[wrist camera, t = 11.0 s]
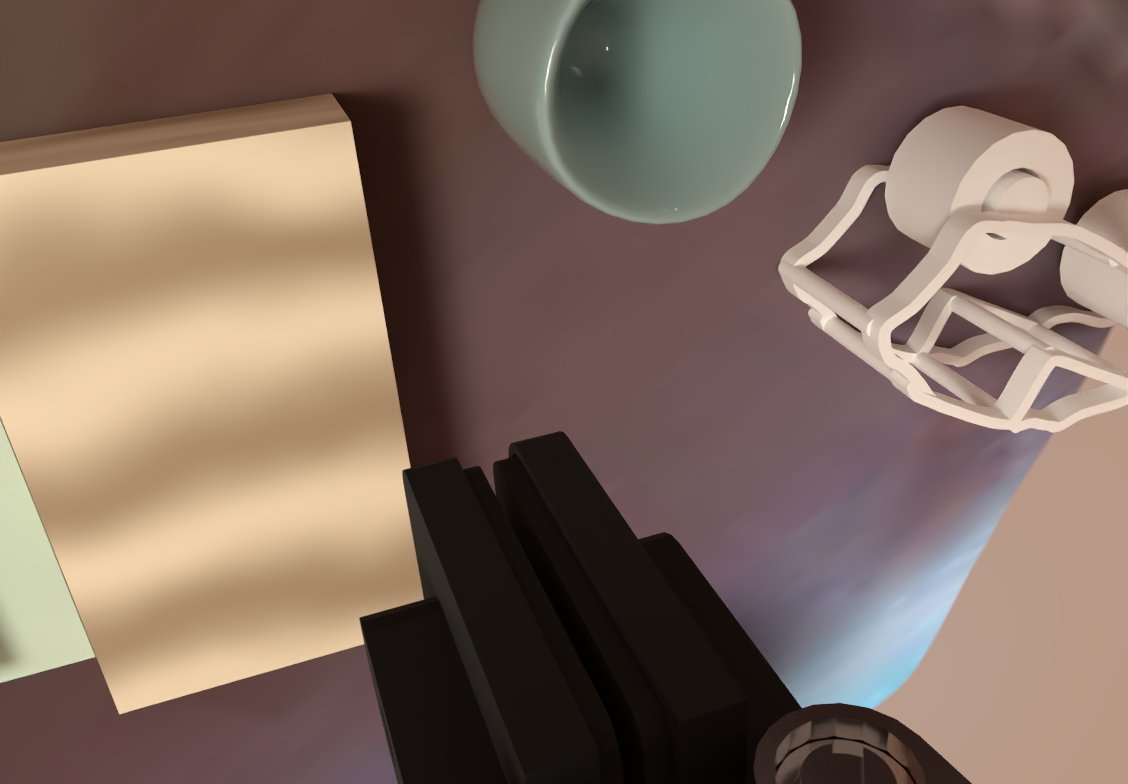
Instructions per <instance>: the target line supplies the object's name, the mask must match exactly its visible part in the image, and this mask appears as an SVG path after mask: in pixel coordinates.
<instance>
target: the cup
mask: <svg viewBox="0 0 1128 784" xmlns="http://www.w3.org/2000/svg"><path fill="white" fill-rule="evenodd" d="M472 57H473V63H474V69H475V74H476V79H477V84H478V86H479V89H480V91H481V94H482V96H483V99H484V101H485V103H486V106H487V107H488V109H489V111H490V113H491V114H492V115H493V117H494V118H495V120H496V121H497V122H498V124H499V125H500V126H501V128H502V129H503V131H504V132H505V133H506V135H507V136H508V137H509V138H510V139H511V141H512V142H513V143H514V144H515V145H516V146H517V147H518V148H519V149H520V150H521V151H522V152H523V153H524V154H526V155H527V156H528V157H529V158H530V159H531V160H532V161H533V162H535V163H536V164H537V165H538V166H539V167H540V168H542V169H543V170H544V171H545V172H546V173H547V174H549V175H550V176H551V177H552V178H553V179H554V180H555V181H557V182H558V183H559V184H560V185H561V186H563V187H564V188H565V189H566V190H567V191H569V192H570V193H571V194H572V195H574V196H575V197H576V198H578V199H580V200H581V201H583V202H585V203H587V204H589V205H590V206H592V207H594V208H596V209H598V210H600V211H602V212H603V213H606V214H609V215H612V216H615V217H619V218H622V219H625V220H628V221H632V222H640V223H649V224H669V223H681V222H685V221H689V220H693V219H696V218H700V217H704V216H706V215H708V214H710V213H712V212H714V211H716V210H718V209H720V208H722V207H724V206H726V205H727V204H728V203H730V202H731V201H732V200H733V199H735V198H736V197H737V196H738V195H740V194H741V193H742V192H743V191H744V190H746V189H747V188H748V186H749V185H750V184H751V183H752V182H753V181H754V180H755V178H756V177H757V176H758V175H759V174H760V173H761V171H762V170H763V169H764V168H765V166H766V164H767V163H768V161H769V160H770V158H771V156H772V155H773V153H774V152H775V150H776V148H777V147H778V145H779V143H780V141H781V138H782V136H783V134H784V132H785V129H786V127H787V125H788V123H789V121H790V117H791V114H792V111H793V107H794V104H795V100H796V97H797V94H798V88H799V81H800V74H801V67H802V36H801V32H800V27H799V22H798V18H797V13H796V10H795V8H794V6H793V3H792V1H791V0H480V1H479V4H478V7H477V10H476V16H475V22H474V28H473V37H472Z"/></svg>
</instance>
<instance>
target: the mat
mask: <svg viewBox="0 0 1128 784" xmlns="http://www.w3.org/2000/svg"><path fill="white" fill-rule="evenodd" d="M93 657H95V652H94V649H93V647H92V644H91V642H90V639H89V637H88V634H87V632H86V629H85V627H84V624H83V622H82V619H81V617H80V614H79V612H78V609H77V607H76V604H75V602H74V599H73V597H72V594H71V592H70V589H69V587H68V584H67V582H66V579H65V577H64V574H63V572H62V569H61V567H60V564H59V562H58V559H57V557H56V554H55V552H54V549H53V547H52V544H51V542H50V539H49V537H48V534H47V532H46V529H45V527H44V524H43V522H42V519H41V517H40V514H39V512H38V509H37V507H36V504H35V502H34V499H33V497H32V494H31V492H30V489H29V487H28V484H27V482H26V479H25V477H24V474H23V472H22V469H21V467H20V464H19V462H18V459H17V457H16V454H15V452H14V449H13V447H12V444H11V442H10V439H9V437H8V434H7V432H6V429H5V427H4V424H3V422H2V419H1V417H0V683H1V682H5V681H8V680H12V679H16V678H19V677H23V676H27V675H31V674H34V673H38V672H42V671H45V670H49V669H53V668H56V667H60V666H64V665H67V664H71V663H75V662H78V661H82V660H86V659H89V658H93Z"/></svg>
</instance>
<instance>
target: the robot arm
mask: <svg viewBox="0 0 1128 784" xmlns="http://www.w3.org/2000/svg"><path fill="white" fill-rule="evenodd" d="M493 474H494V483H495V491H496V496H495V494H494V492H493V490H492V488H491V486H490V484H489V482H488V480H487V478H486V476H485V475H484V473H483V471H482V469H481V468H480V466H476V467H472V468H468V469H464V470H463V469H462V467H461V465H460V463H459V461H458V460H457V458H455V457H453V458H449V459H445V460H441V461H437V462H433V463H429V464H425V465H421V466H417V467H412V468H408V469H404V470H403V471H402V476H403V484H404V490H405V496H406V502H407V507H408V513H409V518H410V524H411V530H412V535H413V541H414V546H415V552H416V558H417V563H418V569H419V574H420V580H421V586H422V591H423V597H424V600H420V601H417V602H413V603H410V604H406V605H402V606H399V607H395V608H392V609H388V610H385V611H381V612H377V613H374V614H370V615H367V616H363V617H360V618H359V620H360V625H361V630H362V635H363V639H364V644H365V648H366V653H367V657H368V662H369V666H370V671H371V675H372V680H373V684H374V689H375V693H376V697H377V701H378V706H379V710H380V714H381V718H382V722H383V726H384V730H385V735H386V739H387V743H388V747H389V751H390V755H391V759H392V763H393V766H394V770H395V774H396V778H397V782H398V784H972V783H970V782H969V781H968V780H967V779H966V778H965V777H964V776H963V775H962V774H961V773H960V772H958V771H957V770H956V769H955V768H954V767H953V766H952V765H951V764H950V763H949V762H948V761H946V760H945V759H944V758H943V757H942V756H941V755H940V754H939V753H938V752H937V751H935V750H934V749H933V748H932V747H931V746H930V745H929V744H928V743H927V742H926V741H924V740H923V739H922V738H921V737H920V736H919V735H917V734H916V733H915V732H913V731H912V730H910V729H909V728H908V727H906V726H905V725H903V724H902V723H900V722H899V721H898V720H896V719H894V718H892V717H889V716H887V715H884V714H882V713H879V712H877V711H875V710H872V709H870V708H866V707H860V706H854V705H848V704H842V703H835V704H819V705H811V706H808V707H805V708H801V706H800V705H799V704H798V702H797V701H796V700H795V698H794V697H793V696H792V694H791V693H790V692H789V690H788V689H787V688H786V686H785V685H784V684H783V682H782V681H781V679H780V678H779V677H778V675H777V674H776V673H775V671H774V670H773V669H772V667H771V666H770V665H769V663H768V662H767V661H766V659H765V658H764V657H763V655H762V654H761V653H760V651H759V650H758V648H757V647H756V646H755V644H754V643H753V642H752V640H751V639H750V638H749V636H748V635H747V634H746V632H745V631H744V630H743V628H742V627H741V626H740V624H739V623H738V622H737V620H736V619H735V617H734V616H733V615H732V613H731V612H730V611H729V609H728V608H727V607H726V605H725V604H724V603H723V601H722V600H721V599H720V597H719V596H718V595H717V593H716V592H715V591H714V589H713V588H712V587H711V585H710V584H709V582H708V581H707V580H706V578H705V577H704V576H703V574H702V573H701V572H700V570H699V569H698V568H697V566H696V565H695V564H694V562H693V561H692V560H691V558H690V557H689V556H688V554H687V553H686V551H685V550H684V549H683V547H682V546H681V545H680V543H679V542H678V541H677V540H676V539H675V538H674V537H673V536H672V535H670V534H668V533H665V532H663V533H660V534H656V535H652V536H649V537H645V538H642V539H637V537H636V536H635V534H634V533H633V531H632V530H631V528H630V527H629V525H628V524H627V523H626V521H625V520H624V518H623V517H622V515H621V514H620V512H619V511H618V509H617V508H616V507H615V505H614V504H613V502H612V501H611V499H610V498H609V496H608V495H607V493H606V492H605V491H604V489H603V488H602V486H601V485H600V483H599V482H598V480H597V479H596V477H595V476H594V475H593V473H592V472H591V470H590V469H589V467H588V466H587V464H586V463H585V461H584V460H583V459H582V457H581V456H580V454H579V453H578V451H577V450H576V448H575V447H574V445H573V444H572V443H571V441H570V440H569V438H568V437H567V436H566V434H565V433H564V432H561V431H559V432H555V433H551V434H547V435H543V436H539V437H535V438H531V439H526V440H522V441H518V442H514V443H511V444H510V446H509V458H508V459H504V460H500V461H496V462H494V464H493Z"/></svg>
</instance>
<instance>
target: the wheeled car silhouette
mask: <svg viewBox="0 0 1128 784" xmlns="http://www.w3.org/2000/svg"><path fill="white" fill-rule="evenodd" d="M881 182H886V189H885V200H886V205H887V210H888V215H889V217H890V218H891V220H892V221H893V223H894V225H895V226H896V228H897V229H898V230H899V231H901V232H902V233H904V234H905V235H907V236H908V237H910V238H911V239H913V240H915V241H917V242H919V243H921V244H923V245H924V246H926V247H928V248H930V251H929V252H928V254H927V255H926V256H925V257H924V258H923V259H922V261H921V262H920V263H919V264H918V265H917V266H916V268H915V269H914V270H913V271H912V272H911V273H910V274H909V275H908V277H907V278H906V279H905V280H904V281H903V282H902V283H901V284H900V285H899V286H898V287H897V288H896V289H895V290H894V291H893V292H892V293H891V294H890V295H889V296H887V297H886V298H884V299H883V300H881V301H880V302H878V303H877V304H875V305H874V306H872V307H871V308H870V309H867V308H866V307H864V306H863V305H861V304H860V303H858V302H856V301H855V300H853V299H852V298H850V297H849V296H847V295H846V294H844V293H843V292H841V291H840V290H838V289H837V288H835V287H834V286H832V285H831V284H829V283H828V282H826V281H825V280H823V279H822V278H820V277H819V276H817V275H816V274H814V273H813V272H811V271H810V270H808V269H807V268H805V267H806V266H807V265H809V264H810V263H812V262H813V261H815V260H816V259H818V258H819V257H821V256H822V255H823V254H825V253H826V252H827V251H828V250H829V249H830V248H831V247H832V246H833V245H834V244H835V243H836V241H837V240H838V239H839V238H840V237H841V236H842V235H843V233H844V232H845V231H846V230H847V229H848V228H849V227H850V225H851V224H852V223H853V222H854V221H855V220H856V218H857V217H858V216H859V215H860V213H861V212H862V210H863V208H864V206H865V204H866V202H867V200H868V198H869V197H870V195H871V193H872V191H873V190H874V188H875V187H876V186H877V185H878V184H879V183H881ZM1073 185H1074V173H1073V161H1072V159H1071V157H1070V155H1069V153H1068V150H1067V148H1066V146H1065V144H1063V143H1062V142H1061V141H1060V140H1059V139H1058V138H1056V137H1055V136H1054V135H1053V134H1051V133H1048V132H1045V131H1042V130H1039V129H1036V128H1033V127H1030V126H1027V125H1024V124H1021V123H1018V122H1015V121H1012V120H1009V119H1006V118H1003V117H1000V116H997V115H994V114H991V113H988V112H985V111H982V110H979V109H975V108H971V107H967V106H956V107H950V108H944V109H942V110H940V111H938V112H936V113H934V114H932V115H930V116H928V117H926V118H925V119H924V120H922V121H921V122H920V123H919V124H918V125H917V126H916V127H915V128H914V129H913V130H912V131H911V132H909V133H908V135H907V136H906V138H905V139H904V141H903V142H902V144H901V145H900V147H899V148H898V150H897V151H896V153H895V155H894V157H893V160H892V163H891V165H889V166H883V165H866V166H863V167H862V168H860V169H859V170H858V171H856V172H855V173H854V174H853V176H852V177H851V179H850V181H849V183H848V184H847V186H846V188H845V190H844V192H843V194H842V196H841V198H840V200H839V201H838V203H837V204H836V205H835V207H834V208H833V209H832V210H831V211H830V212H829V214H828V215H827V216H826V217H825V218H824V219H823V221H822V222H821V223H820V224H819V225H818V226H817V227H816V228H815V229H814V231H813V232H812V233H811V234H810V235H809V236H808V237H807V238H806V239H804V240H803V241H801V242H800V243H798V244H797V245H795V246H794V247H792V248H791V249H790V250H788V251H787V252H786V253H785V254H784V256H783V257H782V259H781V262H780V264H779V267H778V271H779V273H780V274H781V277H782V280H783V282H784V284H785V286H786V288H787V290H788V291H789V292H791V293H792V294H793V295H795V296H796V297H797V298H799V299H800V300H802V301H803V302H804V303H807V304H808V305H809V306H810V307H811V309H810V310H809V312H808V315H809V316H810V318H811V321H812V322H813V323H814V324H815V325H816V326H818V327H819V328H820V329H822V330H823V331H824V332H826V333H827V334H828V335H830V336H831V337H832V338H834V339H835V340H837V341H838V342H839V343H841V344H842V345H843V346H845V347H846V348H847V349H849V350H850V351H851V352H853V353H854V354H855V355H857V356H858V357H860V358H861V359H862V360H864V361H865V362H866V363H868V364H869V365H870V366H872V367H873V368H874V369H876V370H877V371H878V372H880V373H881V374H883V375H884V376H885V377H887V378H888V379H889V380H891V381H892V384H893V385H894V386H895V387H896V388H897V389H899V390H900V391H901V392H903V393H904V394H905V395H907V396H908V397H909V398H911V399H912V400H913V401H915V402H917V403H920V404H922V405H924V406H927V407H929V408H932V409H934V410H936V411H938V412H941V413H944V414H947V415H950V416H953V417H956V418H959V419H962V420H965V421H967V422H971V423H974V424H978V425H981V426H985V427H988V428H993V429H1007V430H1010V431H1012V432H1013V433H1018V432H1019V431H1022V430H1025V429H1028V428H1035V429H1039V430H1047V431H1049V432H1051V433H1054V432H1058V431H1061V430H1063V429H1065V428H1067V427H1069V426H1070V425H1072V424H1073V423H1075V422H1077V421H1079V420H1080V419H1083V418H1086V417H1089V416H1092V415H1095V414H1099V413H1103V412H1107V411H1111V410H1114V409H1117V408H1120V407H1122V406H1125V405H1127V404H1128V372H1126V371H1124V370H1122V369H1120V368H1118V367H1117V366H1115V365H1113V364H1111V363H1110V362H1108V361H1106V360H1104V359H1102V358H1101V357H1099V356H1097V355H1095V354H1093V353H1091V352H1090V351H1088V350H1086V349H1084V348H1082V347H1081V346H1079V345H1077V344H1075V343H1073V342H1071V341H1070V340H1068V339H1066V338H1064V337H1062V336H1061V335H1059V334H1057V333H1055V332H1053V331H1052V330H1050V328H1051V327H1053V326H1054V325H1056V324H1060V323H1066V322H1077V323H1082V324H1086V325H1089V326H1093V327H1099V328H1105V327H1111V326H1114V325H1117V324H1120V325H1122V326H1124V327H1126V328H1128V189H1125V190H1120V191H1115V192H1114V193H1112V194H1110V195H1108V196H1106V197H1104V198H1103V199H1101V200H1099V201H1098V202H1097V203H1096V204H1095V205H1094V206H1092V207H1091V208H1090V209H1089V210H1088V211H1087V212H1086V213H1085V214H1084V215H1083V216H1082V218H1081V219H1080V220H1079V222H1078V223H1077V224H1072V223H1070V222H1067V221H1065V220H1063V218H1064V216H1065V214H1066V211H1067V209H1068V207H1069V205H1070V201H1071V196H1072V190H1073ZM1050 239H1052V240H1055V241H1057V242H1059V243H1061V244H1064V245H1065V247H1064V249H1063V254H1062V259H1061V264H1060V276H1061V284H1062V286H1063V288H1064V290H1065V292H1066V294H1067V296H1068V297H1070V298H1071V299H1072V300H1074V301H1075V302H1077V303H1078V304H1080V305H1082V306H1084V307H1086V308H1088V309H1090V310H1092V311H1084V310H1079V309H1076V308H1073V307H1069V306H1063V305H1057V306H1048V307H1044V308H1040V309H1038V310H1037V311H1035V312H1033V313H1032V314H1031V315H1029V316H1028V317H1026V316H1024V315H1021V314H1018V313H1016V312H1013V311H1010V310H1007V309H1005V308H1002V307H999V306H997V305H994V304H991V303H988V302H985V301H983V300H980V299H977V298H974V297H971V296H969V295H967V294H964V293H962V292H959V291H956V290H953V289H951V288H940V287H941V286H942V285H943V284H944V283H945V282H946V281H947V279H948V278H949V277H950V276H951V275H952V274H953V273H954V272H955V270H956V269H957V267H958V266H959V264H960V265H962V266H964V267H966V268H968V269H970V270H971V271H973V272H977V273H984V274H990V275H992V274H997V273H1002V272H1006V271H1010V270H1012V269H1014V268H1016V267H1018V266H1020V265H1021V264H1023V263H1025V262H1027V261H1029V260H1030V259H1031V258H1032V257H1033V256H1034V255H1036V254H1037V253H1038V252H1039V251H1040V250H1041V249H1042V248H1043V247H1044V246H1046V244H1047V243H1048V242H1049V240H1050ZM933 295H934V296H933ZM932 296H933V297H932ZM931 297H932V298H931ZM930 298H931V300H930V302H929V304H928V305H927V307H926V309H925V311H924V313H923V314H922V316H921V318H920V320H919V322H918V324H917V326H916V328H915V330H914V332H913V334H912V335H911V337H910V338H909V340H908V341H907V343H906V344H905V345H899V344H893V343H891V340H890V335H891V332H892V330H893V329H894V328H895V327H897V326H898V325H900V324H901V323H903V322H904V321H906V320H907V319H909V318H910V317H911V316H913V315H914V314H915V313H917V312H918V311H919V310H920V309H921V308H922V307H923V306H924V305H925V304H926V303H927V302H928V301H929V299H930ZM952 311H953V312H954V313H956V314H958V315H959V316H961V317H963V318H964V319H966V320H968V321H970V322H971V323H973V324H975V325H976V326H978V327H980V328H981V329H983V330H985V331H986V332H988V333H986V334H982V335H978V336H975V337H971V338H969V339H967V340H965V341H963V342H961V343H959V344H958V345H956V346H954V347H953V348H951V349H948V348H943V347H938V346H934V344H935V342H936V340H937V338H938V336H939V334H940V332H941V330H942V328H943V327H944V325H945V323H946V321H947V319H948V318H949V316H950V314H951V312H952ZM834 312H835V313H836V314H838V315H839V316H841V317H842V318H843V319H845V320H846V321H848V322H849V323H850V324H852V325H853V326H855V327H856V328H858V329H859V330H860V331H861V333H860V332H857V331H856V330H854V329H853V328H852V327H850V326H849V325H847V324H846V323H844V322H843V321H842V320H840V319H839V318H838V317H837V315H836V314H835V313H834ZM1012 347H1013V348H1015V349H1017V350H1018V351H1020V352H1022V353H1023V354H1025V355H1024V356H1023V358H1022V359H1021V361H1020V363H1019V364H1018V366H1017V368H1016V369H1015V371H1014V373H1013V375H1012V376H1011V378H1010V380H1009V382H1008V384H1007V385H1006V387H1005V389H1004V391H1003V392H1002V394H1001V396H1000V397H999V399H998V400H996V399H995V398H993V397H992V396H990V395H989V394H987V393H986V392H984V391H983V390H981V389H980V388H978V387H977V386H975V385H974V384H972V383H971V382H969V381H968V380H966V379H965V378H963V377H962V376H960V375H959V374H957V373H956V372H954V371H953V370H952V369H950V368H949V367H947V366H946V365H944V364H950V365H954V366H956V367H961V366H965V365H967V364H969V363H971V362H972V361H974V360H976V359H977V358H979V357H981V356H983V355H986V354H988V353H992V352H995V351H999V350H1004V349H1008V348H1012ZM908 362H909V363H911V364H912V365H913V366H915V367H916V368H918V369H919V370H921V371H922V372H923V373H925V374H926V375H928V376H929V377H931V378H932V379H934V380H935V381H936V382H938V383H939V384H941V385H942V386H944V387H945V388H946V389H948V390H949V391H951V392H952V393H954V394H955V395H956V396H958V397H959V398H961V399H962V400H964V401H965V402H963V401H960V400H957V399H954V398H951V397H948V396H946V395H943V394H940V393H937V392H934V391H932V390H931V389H930V388H929V386H928V385H927V383H926V382H925V380H924V379H923V378H922V377H921V375H920V374H919V373H918V372H917V370H916V369H915V368H914V367H913V366H911V365H910V364H909V363H908ZM943 363H944V364H943ZM1055 366H1059V367H1062V368H1065V369H1068V370H1071V371H1074V372H1077V373H1079V374H1082V375H1084V376H1087V377H1090V378H1094V379H1096V380H1099V381H1102V382H1105V383H1108V384H1106V385H1104V386H1101V387H1098V388H1095V389H1092V390H1088V391H1084V392H1080V393H1076V394H1073V395H1069V396H1066V397H1063V398H1061V399H1059V400H1057V401H1055V402H1053V403H1052V404H1050V405H1048V406H1047V407H1045V408H1043V409H1041V410H1038V409H1031V408H1030V406H1031V405H1032V403H1033V401H1034V400H1035V398H1036V396H1037V394H1038V392H1039V391H1040V389H1041V387H1042V386H1043V384H1044V382H1045V381H1046V379H1047V377H1048V376H1049V374H1050V373H1051V371H1052V370H1053V368H1054V367H1055Z"/></svg>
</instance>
